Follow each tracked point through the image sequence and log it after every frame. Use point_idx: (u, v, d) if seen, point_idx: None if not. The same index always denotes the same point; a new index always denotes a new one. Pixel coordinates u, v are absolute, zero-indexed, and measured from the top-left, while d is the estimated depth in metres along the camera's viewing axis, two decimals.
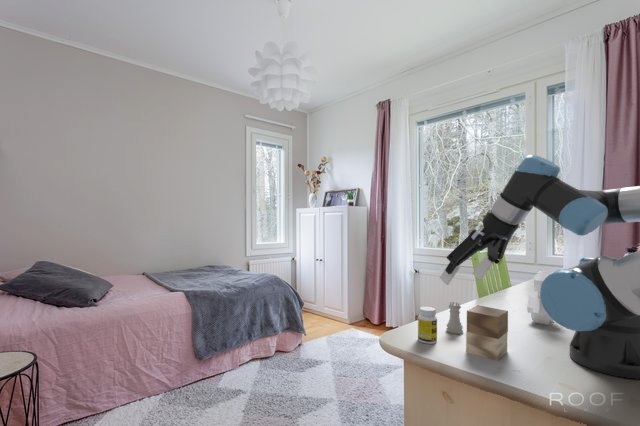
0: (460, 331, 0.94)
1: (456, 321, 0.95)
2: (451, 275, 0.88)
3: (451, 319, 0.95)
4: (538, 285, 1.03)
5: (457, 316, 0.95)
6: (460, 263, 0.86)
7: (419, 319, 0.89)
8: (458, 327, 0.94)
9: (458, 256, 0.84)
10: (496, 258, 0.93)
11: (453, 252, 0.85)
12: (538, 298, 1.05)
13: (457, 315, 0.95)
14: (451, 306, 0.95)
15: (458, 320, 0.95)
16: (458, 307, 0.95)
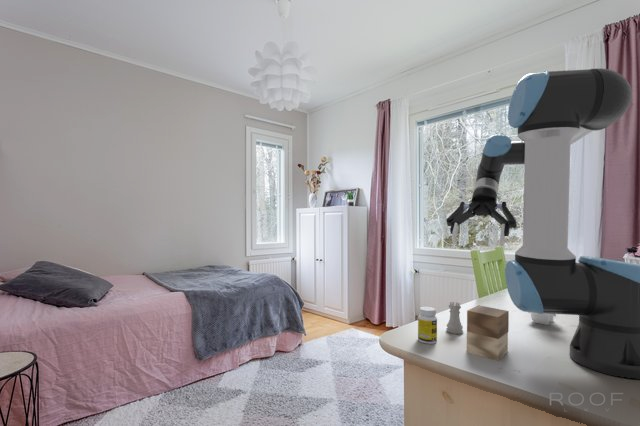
0: (460, 331, 0.94)
1: (456, 321, 0.95)
2: (453, 231, 1.09)
3: (451, 319, 0.95)
4: None
5: (457, 316, 0.95)
6: (455, 220, 1.12)
7: (419, 319, 0.89)
8: (458, 327, 0.94)
9: None
10: (506, 221, 1.04)
11: None
12: None
13: (457, 315, 0.95)
14: (451, 306, 0.95)
15: (458, 320, 0.95)
16: (458, 307, 0.95)
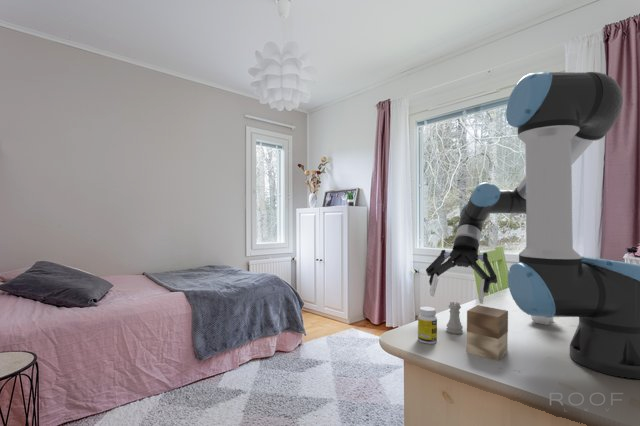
0: (460, 331, 0.94)
1: (456, 321, 0.95)
2: (432, 283, 1.05)
3: (451, 319, 0.95)
4: None
5: (457, 316, 0.95)
6: (435, 271, 1.07)
7: (419, 319, 0.89)
8: (458, 327, 0.94)
9: None
10: (486, 275, 0.99)
11: None
12: None
13: (457, 315, 0.95)
14: (451, 306, 0.95)
15: (458, 320, 0.95)
16: (458, 307, 0.95)
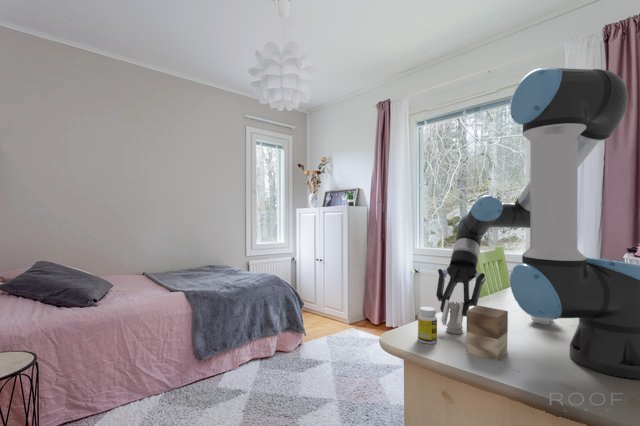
0: (460, 331, 0.94)
1: (456, 321, 0.95)
2: None
3: (451, 319, 0.95)
4: None
5: (457, 316, 0.95)
6: (445, 296, 0.98)
7: (419, 319, 0.89)
8: None
9: (437, 290, 1.01)
10: (467, 298, 0.95)
11: None
12: None
13: (457, 315, 0.95)
14: (451, 306, 0.95)
15: None
16: (458, 307, 0.95)
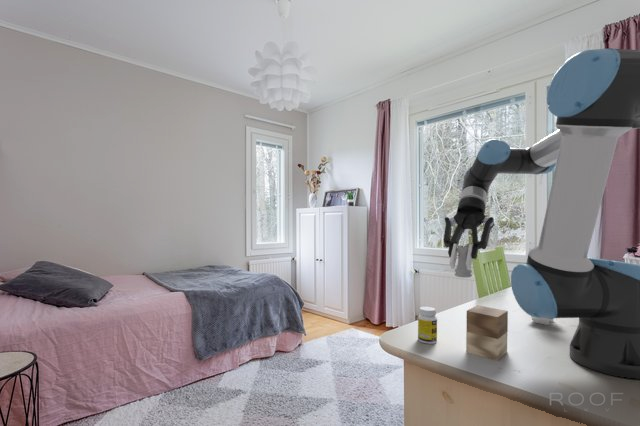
0: (469, 275, 0.91)
1: (465, 264, 0.91)
2: None
3: (459, 263, 0.92)
4: None
5: (466, 259, 0.91)
6: (453, 240, 0.95)
7: (419, 319, 0.89)
8: (467, 270, 0.91)
9: (444, 236, 0.97)
10: (475, 241, 0.91)
11: None
12: None
13: (466, 258, 0.91)
14: (459, 249, 0.92)
15: None
16: (467, 250, 0.91)
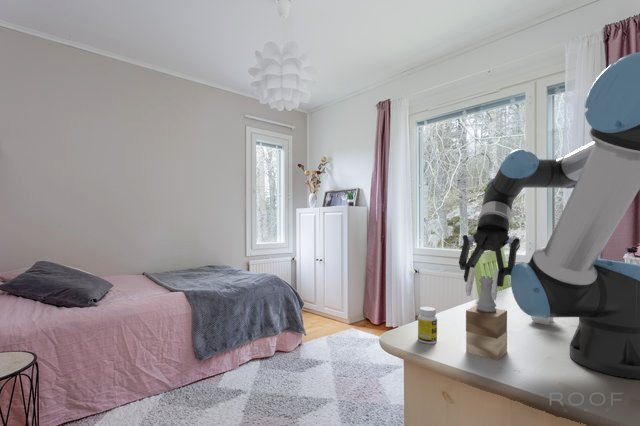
0: (494, 309, 0.81)
1: (489, 297, 0.81)
2: (467, 279, 0.83)
3: (482, 295, 0.82)
4: None
5: (490, 292, 0.81)
6: (470, 263, 0.85)
7: (419, 319, 0.89)
8: (492, 304, 0.81)
9: (460, 257, 0.88)
10: (502, 266, 0.81)
11: None
12: None
13: (490, 291, 0.81)
14: (483, 280, 0.82)
15: (491, 296, 0.81)
16: (491, 281, 0.81)
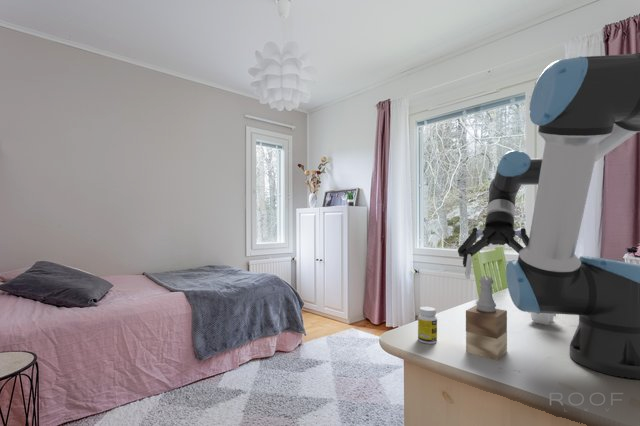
0: (494, 309, 0.81)
1: (489, 298, 0.81)
2: None
3: (482, 295, 0.82)
4: None
5: (489, 292, 0.81)
6: (468, 251, 0.98)
7: (419, 319, 0.89)
8: (492, 304, 0.81)
9: None
10: None
11: None
12: None
13: (489, 291, 0.81)
14: (482, 280, 0.82)
15: (491, 296, 0.81)
16: (491, 281, 0.81)
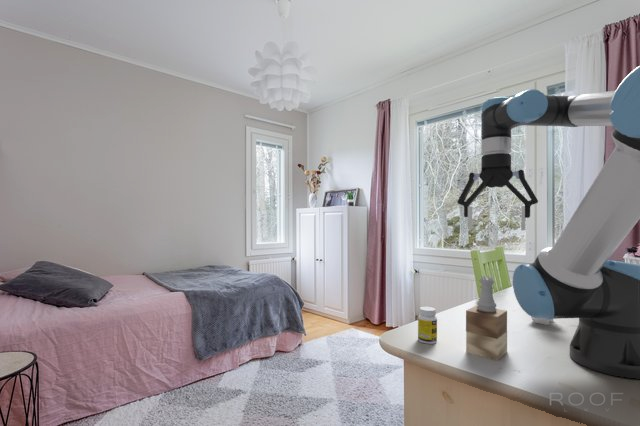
0: (494, 309, 0.81)
1: (489, 298, 0.81)
2: None
3: (483, 296, 0.82)
4: None
5: (490, 292, 0.81)
6: (467, 203, 1.00)
7: (419, 319, 0.89)
8: (492, 304, 0.81)
9: None
10: (526, 201, 0.92)
11: None
12: None
13: (490, 291, 0.81)
14: (483, 280, 0.82)
15: (491, 296, 0.81)
16: (491, 281, 0.81)
